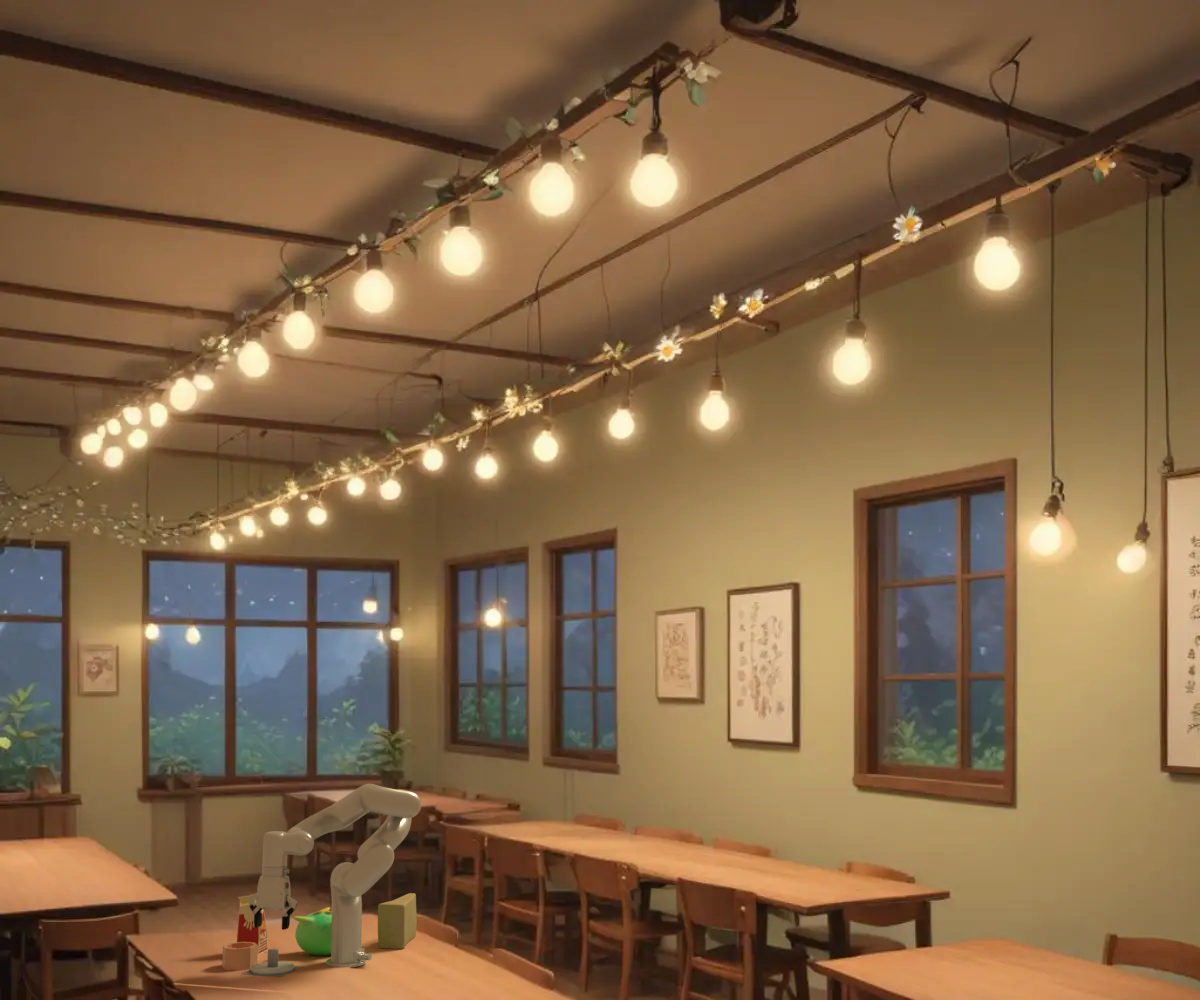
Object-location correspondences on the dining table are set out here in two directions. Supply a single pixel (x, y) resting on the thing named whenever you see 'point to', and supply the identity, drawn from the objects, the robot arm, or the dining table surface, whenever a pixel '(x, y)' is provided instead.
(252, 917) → the milk carton
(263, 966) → the lid
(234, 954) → the bowl
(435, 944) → the dining table surface
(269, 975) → the mat
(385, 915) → the olive green block
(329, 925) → the toy bird
